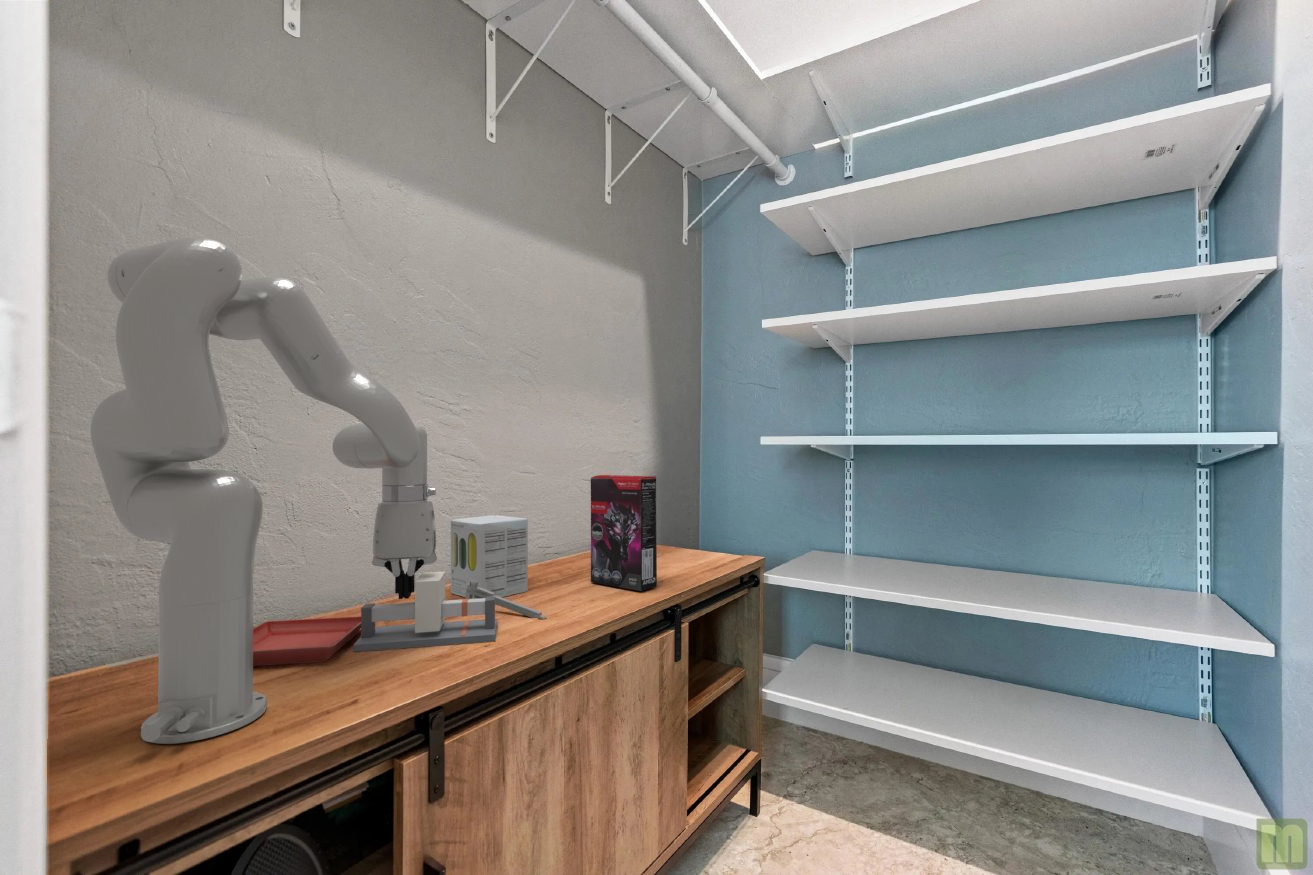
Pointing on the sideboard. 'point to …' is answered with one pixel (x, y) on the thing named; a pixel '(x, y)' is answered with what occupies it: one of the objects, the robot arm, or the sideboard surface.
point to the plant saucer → (301, 639)
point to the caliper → (501, 601)
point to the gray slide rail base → (408, 638)
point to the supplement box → (490, 554)
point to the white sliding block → (429, 601)
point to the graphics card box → (624, 531)
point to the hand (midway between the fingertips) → (404, 596)
